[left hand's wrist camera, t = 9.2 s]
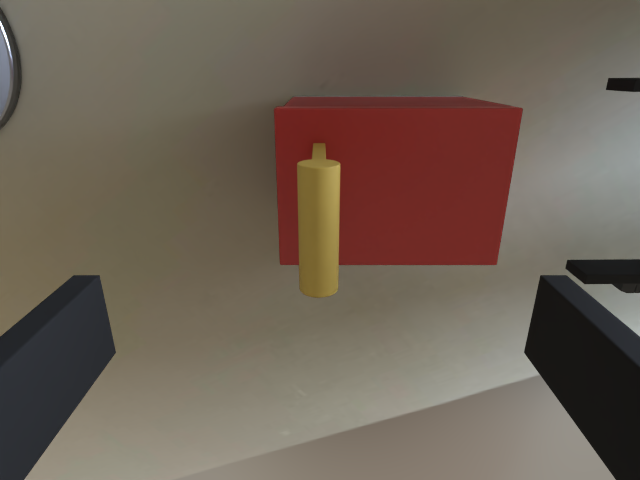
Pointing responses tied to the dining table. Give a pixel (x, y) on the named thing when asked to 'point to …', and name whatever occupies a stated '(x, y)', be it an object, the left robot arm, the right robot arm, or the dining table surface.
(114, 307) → the dining table surface
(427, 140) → the lid
